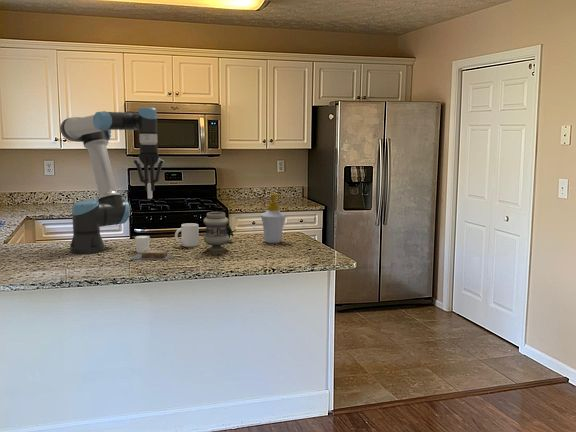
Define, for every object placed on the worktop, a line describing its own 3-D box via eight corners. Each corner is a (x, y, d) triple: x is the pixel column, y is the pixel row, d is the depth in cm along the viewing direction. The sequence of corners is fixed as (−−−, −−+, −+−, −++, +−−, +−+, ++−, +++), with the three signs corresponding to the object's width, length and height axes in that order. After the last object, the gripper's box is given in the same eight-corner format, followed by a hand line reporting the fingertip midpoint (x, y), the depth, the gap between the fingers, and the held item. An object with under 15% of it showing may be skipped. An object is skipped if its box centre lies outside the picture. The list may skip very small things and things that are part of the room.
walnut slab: (141, 252, 249) (164, 253, 249) (144, 250, 255) (167, 250, 255) (141, 257, 249) (164, 258, 249) (145, 254, 255) (167, 255, 255)
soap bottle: (285, 244, 283) (285, 195, 279) (259, 244, 283) (259, 195, 279) (285, 239, 296) (286, 192, 292) (261, 239, 296) (261, 192, 292)
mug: (178, 248, 272) (177, 227, 270) (171, 245, 279) (171, 224, 277) (201, 245, 278) (201, 225, 276) (194, 243, 285) (194, 222, 283)
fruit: (208, 246, 291) (236, 238, 295) (212, 247, 281) (240, 238, 285) (202, 227, 290) (230, 219, 295) (206, 227, 280) (234, 218, 285)
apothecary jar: (198, 250, 267) (197, 212, 264) (218, 246, 276) (217, 210, 273) (215, 254, 259) (214, 215, 256) (234, 250, 268) (234, 212, 265)
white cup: (153, 250, 266) (152, 235, 265) (145, 253, 260) (144, 238, 259) (140, 249, 269) (140, 234, 268) (132, 252, 262) (131, 237, 261)
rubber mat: (130, 259, 248) (130, 258, 248) (136, 254, 257) (136, 253, 257) (167, 260, 248) (167, 259, 248) (172, 254, 258) (172, 254, 257)
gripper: (131, 144, 241) (132, 199, 245) (161, 144, 241) (163, 199, 245) (135, 143, 249) (137, 197, 252) (165, 143, 249) (166, 197, 252)
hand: (150, 198), depth 249 cm, fingers closed
